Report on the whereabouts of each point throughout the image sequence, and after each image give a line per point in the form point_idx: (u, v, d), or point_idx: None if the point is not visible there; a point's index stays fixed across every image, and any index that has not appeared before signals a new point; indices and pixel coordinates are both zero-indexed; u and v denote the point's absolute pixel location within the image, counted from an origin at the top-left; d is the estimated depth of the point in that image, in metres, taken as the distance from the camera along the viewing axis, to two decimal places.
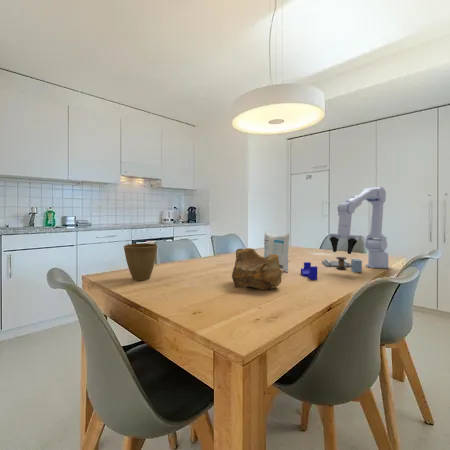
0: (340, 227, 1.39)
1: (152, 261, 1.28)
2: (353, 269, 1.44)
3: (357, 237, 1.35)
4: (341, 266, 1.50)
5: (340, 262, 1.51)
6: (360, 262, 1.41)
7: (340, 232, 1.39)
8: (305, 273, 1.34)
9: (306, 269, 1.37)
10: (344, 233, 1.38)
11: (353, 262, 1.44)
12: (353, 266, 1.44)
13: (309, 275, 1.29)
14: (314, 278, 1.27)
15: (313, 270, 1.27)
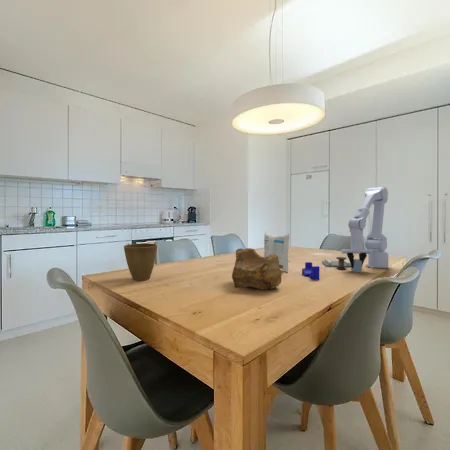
0: (357, 244, 1.42)
1: (152, 261, 1.28)
2: (353, 269, 1.44)
3: (371, 251, 1.43)
4: (341, 266, 1.50)
5: (340, 262, 1.51)
6: (360, 262, 1.41)
7: (357, 248, 1.42)
8: (307, 273, 1.34)
9: (307, 269, 1.37)
10: (361, 249, 1.42)
11: (353, 262, 1.44)
12: (353, 266, 1.44)
13: (311, 275, 1.29)
14: (316, 278, 1.27)
15: (315, 270, 1.27)
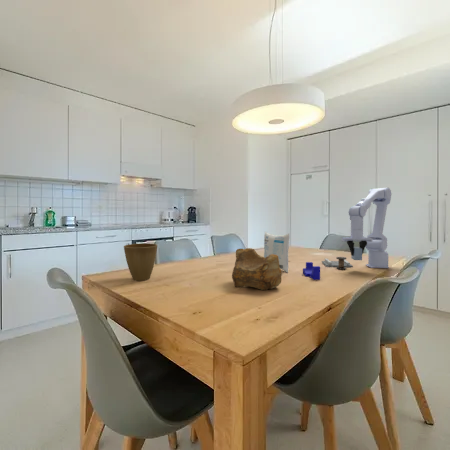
0: (357, 231, 1.41)
1: (152, 261, 1.28)
2: (353, 257, 1.43)
3: None
4: (341, 266, 1.50)
5: (340, 262, 1.51)
6: (360, 250, 1.41)
7: (358, 236, 1.41)
8: (307, 273, 1.34)
9: (308, 269, 1.37)
10: (361, 237, 1.41)
11: None
12: None
13: (312, 275, 1.29)
14: (317, 278, 1.28)
15: (316, 270, 1.27)
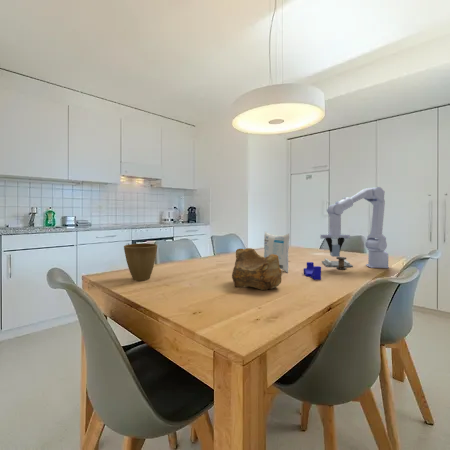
0: (335, 228, 1.46)
1: (152, 261, 1.28)
2: (331, 253, 1.48)
3: (349, 236, 1.47)
4: (341, 266, 1.50)
5: (340, 262, 1.51)
6: (338, 246, 1.46)
7: (335, 233, 1.46)
8: (308, 273, 1.34)
9: (309, 269, 1.37)
10: (339, 234, 1.46)
11: None
12: None
13: (313, 275, 1.30)
14: (318, 278, 1.28)
15: (317, 270, 1.27)
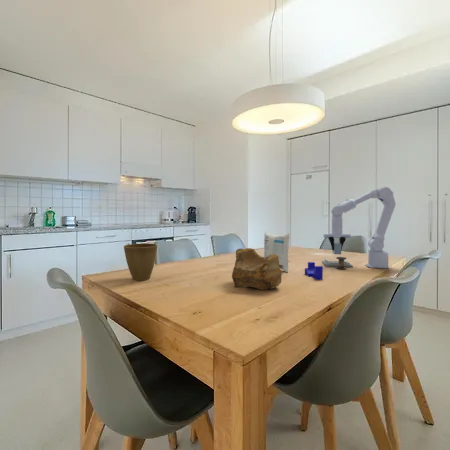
0: (337, 228, 1.59)
1: (152, 261, 1.28)
2: (334, 251, 1.61)
3: None
4: (341, 266, 1.50)
5: (340, 262, 1.51)
6: (340, 245, 1.59)
7: (337, 233, 1.59)
8: (310, 273, 1.34)
9: (310, 269, 1.37)
10: (340, 233, 1.59)
11: (334, 245, 1.61)
12: (334, 249, 1.61)
13: (314, 275, 1.30)
14: (319, 278, 1.28)
15: (319, 270, 1.28)
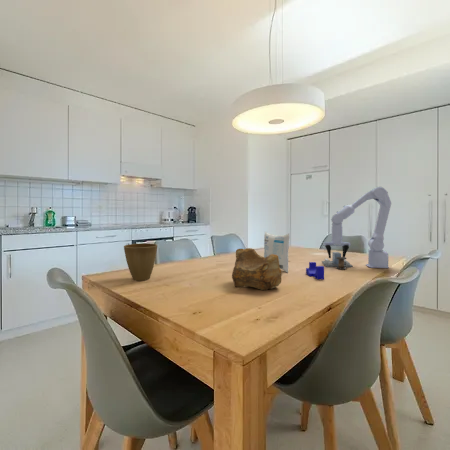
0: (337, 237, 1.59)
1: (152, 261, 1.28)
2: (334, 261, 1.61)
3: None
4: (341, 266, 1.50)
5: (340, 262, 1.51)
6: (339, 255, 1.59)
7: (337, 241, 1.59)
8: (311, 273, 1.35)
9: (312, 269, 1.37)
10: (340, 241, 1.59)
11: (334, 255, 1.61)
12: (334, 258, 1.61)
13: (316, 275, 1.30)
14: (321, 278, 1.28)
15: (320, 270, 1.28)
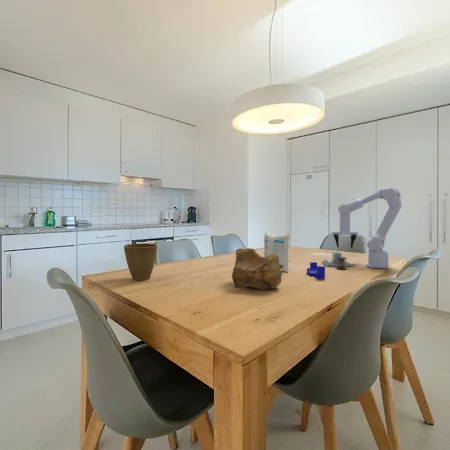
0: (344, 226, 1.65)
1: (152, 261, 1.28)
2: (334, 261, 1.61)
3: None
4: (341, 266, 1.50)
5: (340, 262, 1.51)
6: (339, 255, 1.59)
7: (345, 231, 1.65)
8: (312, 273, 1.35)
9: (312, 269, 1.37)
10: (348, 231, 1.65)
11: (334, 255, 1.61)
12: (334, 258, 1.61)
13: (316, 275, 1.30)
14: (322, 278, 1.28)
15: (321, 270, 1.28)
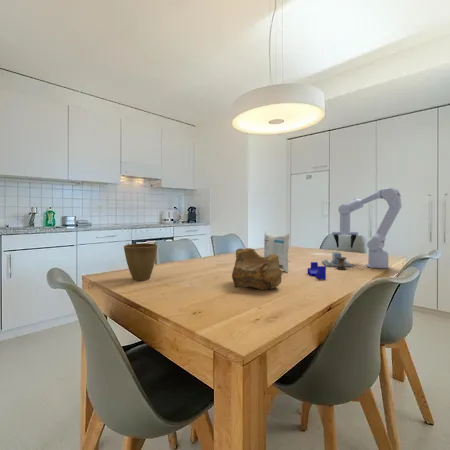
0: (344, 226, 1.65)
1: (152, 261, 1.28)
2: (334, 261, 1.61)
3: None
4: (341, 266, 1.50)
5: (340, 262, 1.51)
6: (339, 255, 1.59)
7: (345, 231, 1.65)
8: (313, 273, 1.35)
9: (313, 269, 1.37)
10: (348, 231, 1.65)
11: (334, 255, 1.61)
12: (334, 258, 1.61)
13: (317, 275, 1.30)
14: (322, 278, 1.28)
15: (322, 270, 1.28)
